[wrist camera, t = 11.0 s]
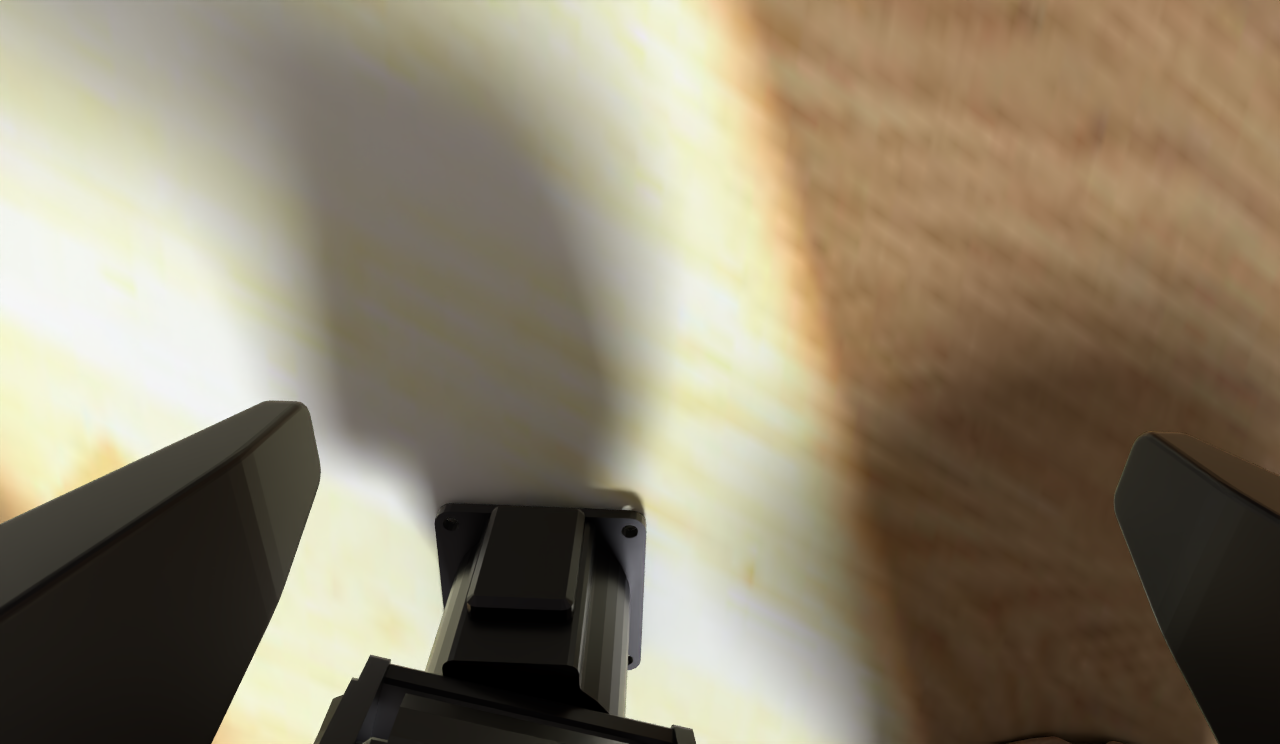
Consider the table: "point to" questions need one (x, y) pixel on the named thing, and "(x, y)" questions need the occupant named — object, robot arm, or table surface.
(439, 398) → the table surface
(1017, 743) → the plant pot
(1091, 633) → the table surface
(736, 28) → the table surface
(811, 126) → the table surface
